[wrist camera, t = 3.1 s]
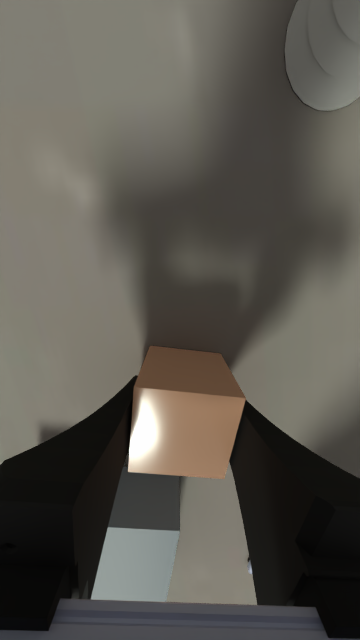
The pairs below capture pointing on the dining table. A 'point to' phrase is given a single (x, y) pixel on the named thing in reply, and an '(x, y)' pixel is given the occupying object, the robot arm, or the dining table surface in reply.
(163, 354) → the terracotta block
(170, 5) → the dining table surface
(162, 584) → the slate box
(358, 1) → the chalice
